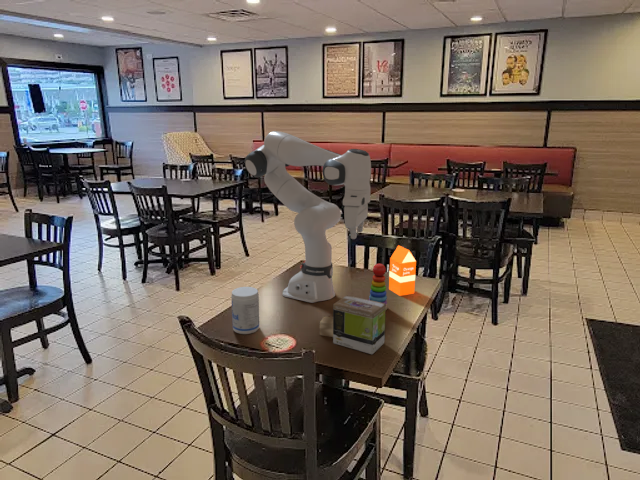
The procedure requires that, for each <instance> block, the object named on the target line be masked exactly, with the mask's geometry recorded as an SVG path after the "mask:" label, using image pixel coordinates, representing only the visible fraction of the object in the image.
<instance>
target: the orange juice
mask: <svg viewBox="0 0 640 480" xmlns="http://www.w3.org/2000/svg"><path fill="white" fill-rule="evenodd" d="M416 266H417V260H416V259H415V257H414V256H413V254H412V252H411V251H410V249H407V248H405V247H404V246H401V245H399V244H398V245H397V246H396V249H395V250H394V252H393V253H392V255H391V257H389V275H388V290H389V291H391V292H392V293H394V294H396V295H398V296H399V297H402V296H407V295H412V294H415V289H416V274H417V273H416V272H417V271H416V269H417V267H416Z"/></svg>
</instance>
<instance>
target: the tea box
mask: <svg viewBox="0 0 640 480" xmlns="http://www.w3.org/2000/svg"><path fill="white" fill-rule="evenodd" d="M385 305H386V304H385V303H381V302H376V301H372V300H369V299H368V298H362V297H357V296H353V295H349V294H346V295H345V296H344V297H342V298H340V299H338V300H337V301H335V303H333V305H332V308H333V309H332V310H333V311H332V316H333V317H332V318H333V337H332V339H333V340H332V343H333V344H334V345H339V346H342V347H346V348H349V349H352V350H355V351H358V352H361V353H362V352H363V353H366V354H369V355H373V354H374V353H375V352H377V351H378V350H379V349H380V348H381V347H382V346H383V345H384V344H385V335H386V310H385Z"/></svg>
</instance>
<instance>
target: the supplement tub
mask: <svg viewBox="0 0 640 480" xmlns="http://www.w3.org/2000/svg"><path fill="white" fill-rule="evenodd" d="M259 296H260V295H259V289H257V288H255V287H252V286H240V287H236V288H235V289H232V291H231V296H230V298H231V318H232V321H231V322H232V330H233V332H235V333H237V334H240V335H249V334H254V333H256V332H257V331H258V330H259V328H260V306H259V305H260V304H259V303H260V301H259V300H260V299H259V298H260V297H259Z"/></svg>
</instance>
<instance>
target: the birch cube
mask: <svg viewBox="0 0 640 480" xmlns="http://www.w3.org/2000/svg"><path fill="white" fill-rule="evenodd" d="M319 335H320V336H323V337H324V336H325V337H330V338H331V337H332V338H333V317H331V316H325V315H324V316H323V317H322V319H321V320H320V322H319Z"/></svg>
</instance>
